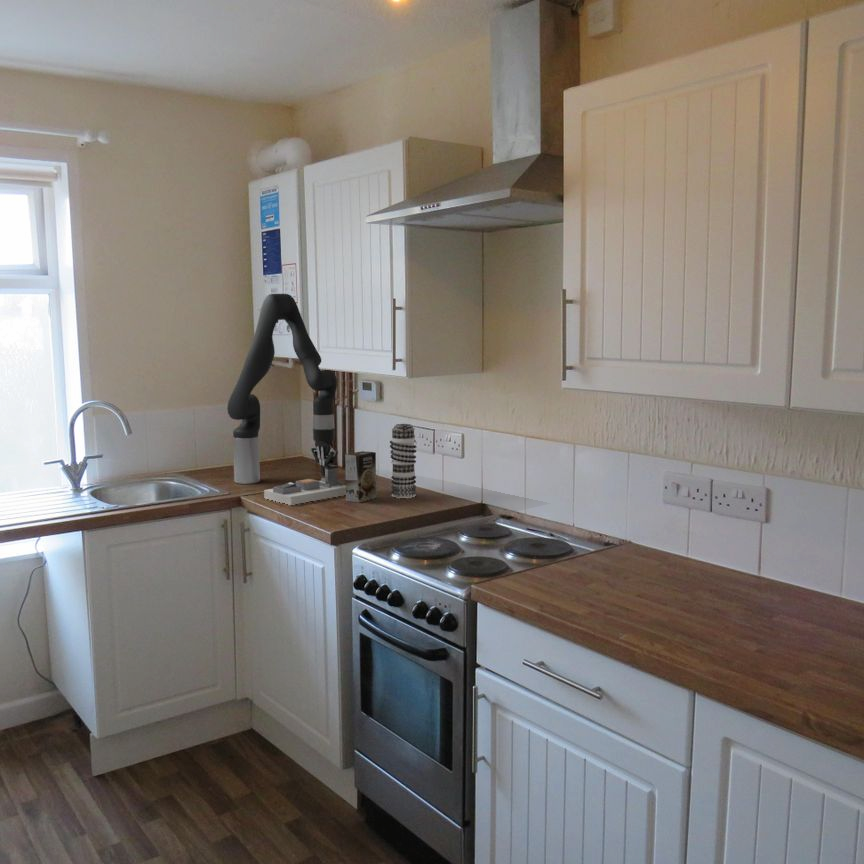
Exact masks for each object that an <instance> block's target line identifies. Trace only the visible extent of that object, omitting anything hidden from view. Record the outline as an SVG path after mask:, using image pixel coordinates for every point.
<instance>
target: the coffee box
mask: <svg viewBox="0 0 864 864" xmlns="http://www.w3.org/2000/svg"><path fill="white" fill-rule="evenodd" d="M344 455H345V460H344V461H345V485H346V496H345V501H346V502H347V501H348V502H352V503H358V504H359V503H363V502H366V501H367V500H368V501H371V500H370V499H372V500H375V499H374V498H376V499H377V458H376V457H377V452H375V451H363V450H362V451H357V452H350V453H345V454H344Z"/></svg>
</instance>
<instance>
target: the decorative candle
mask: <svg viewBox="0 0 864 864" xmlns="http://www.w3.org/2000/svg"><path fill="white" fill-rule="evenodd" d="M391 433H392V435H391V436H392V437H391V440H389V444H390V445H389V448H391V450H390V459H391V462H390V463H391V464H392V471H391V472H392V473H391V474H392V475H391V477H390V479H392V480H391V484H392V485H391V486H390V487H391V494H392V495H391V497H392V496H393V497H396V498H395V499H400V498H406V499H413V498H412V497H414V498H415V496H417V495H416V494H417V490H416V488H417V486H416V485H415V484H416V482H417V481H416V478H417V477H416V471H415V464H416V462H417V460H416V458H417V456H416V455H415V453H417V450H416V448H417V445H415V443H416V442H417V441H416V439H415V428H414V427H413V425H412V424H409V423H398V424H395V425H394V427H392V428H391ZM393 497H392V498H393Z"/></svg>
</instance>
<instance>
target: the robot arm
mask: <svg viewBox="0 0 864 864" xmlns="http://www.w3.org/2000/svg"><path fill="white" fill-rule="evenodd" d="M295 300H296V299H294V297H293V296H292V295H291V294H288V293H271V294H268V295H267V296H265V297H264V299H263V302H262V304H261V308H260V310H259V311H260V312H259V317H258V320H257V324H256V328H255V332H254V334H253V338H252V341H251V344H250V347H249V349H248V351H247V355H246V357H245V360H244V364H243V367H242V369H241V372H240V374H239V377H238V380H237V383H236V385H235V387H234V388H233V391H232V393H231V394H230V397H229V399H228V403H227V413H228V416H229V418H231V419H232V420H237V421H239V420H240V421H241V423H240V424H239V426H237V427H236V428H234V429H233V432H232V433H233V434H232V437H233V458H232V459H233V480H234V481H233V482H234V483H236V484H242V485H243V484H244V485H247V484H256V483H259V482H260V481H261V479H260V475H261V474H260V446H259V445H260V444H259V442H260V441H259V431H260V429H261V403H260V400H259V398H258V397H257V395H255V394H254V393H252V392H253V390H254V388H255V387H256V386H257V385H258V384H259V383H260V382H261V380H263V378H264V377H265V376H266V375H267V374H268V372H269V371H270V369H271V366H272V363H273V360H274V358H275V353H276V352H275V345H274V340H273V335H274V331H275V328H276V324H277V322H278V321H282V320H283V321H285V322H286V324H287V326H288V327H289V329H290V330H291V334H292V347H293V349H294V352H295V354H296V357H297V358H298V360H299V363H301V365H302V367H303V373H304V375H305V379H306V381H307V384H308V386H309V387H310V388H311V389H312V390H313V391H316V392H319V395H318V396H317V397H316V398H314V399H313V404H312V405H313V406H312V411H313V414H312V415H313V416H312V417H313V418H312V435H313V436H312V439H313V441H315V444H314V445H315V446H314V447H312V448H311V449H310V451H311V453H312V455H313V458H314V460H315V462H316V463H317V464H318V465H320V474H321V475H320V476H321V477H322V476H323V477H325V469H324V466H331V465H334V462H335V460H336V458H337V456H338V453H339V451H338V450H335V449H334V444H333V443H334V441H335V439H336V438H335V437H336V435H335V434H336V433H335V431H336V430H335V427H336V426H335V417H334V414H335V413H334V400H335V398H336V397H335V396H336V391H337V388H338V387H337V386H338V380H337V379H338V378H337V376H336V374H335V372H334V371H332V370H331V369H324V370H323V369H322V370H321V368H320V367H319V365H321V363H322V357H321V355H320V353H319V351H318V350H317V348H316V346H315V345H314V343H313V341H312V339H311V337H310V334H309V333H308V330H307V328H306V325H305V321H304V319H303V317H302V314H301V311H300V309H299V307H298V304H297V302H296V301H295Z"/></svg>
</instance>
